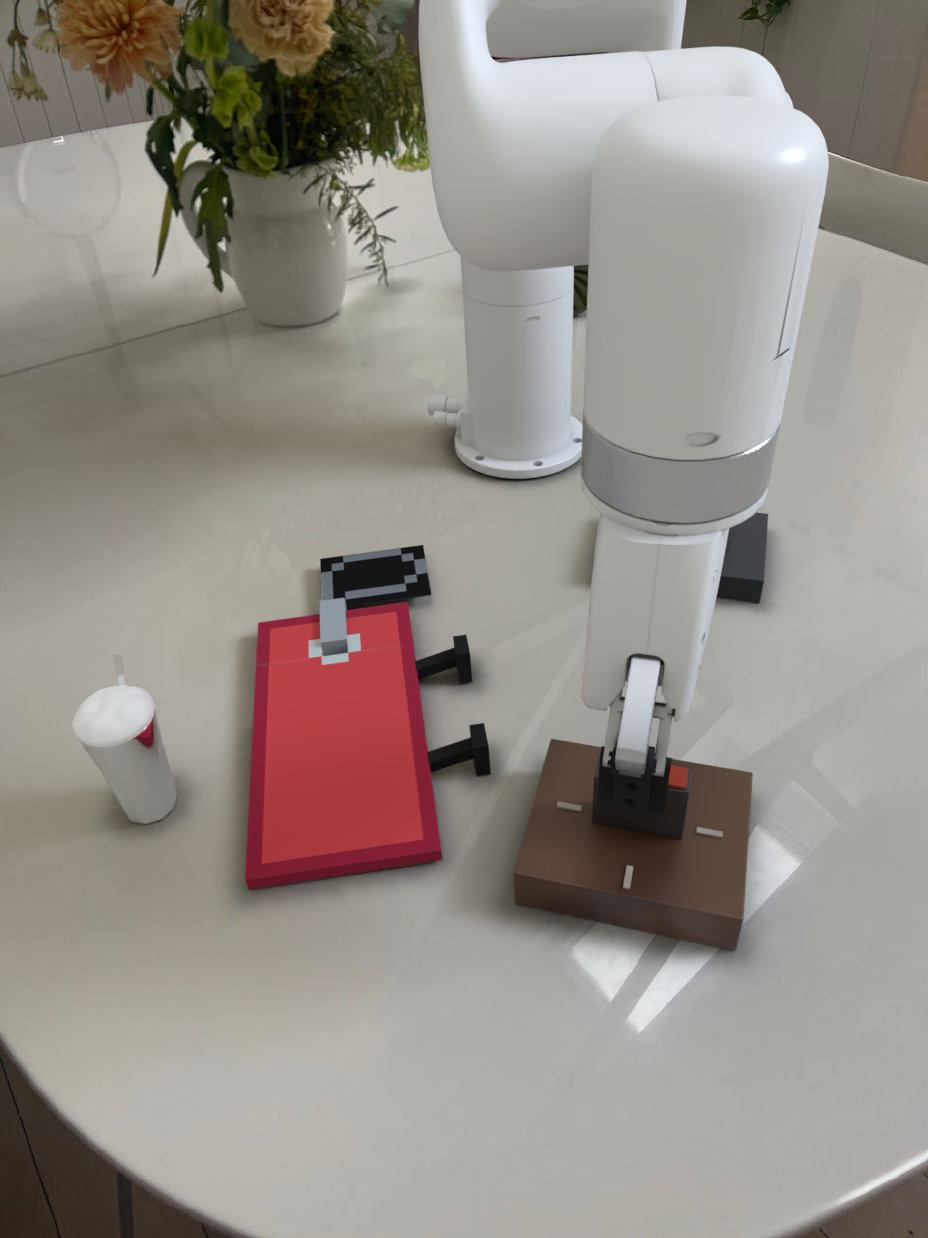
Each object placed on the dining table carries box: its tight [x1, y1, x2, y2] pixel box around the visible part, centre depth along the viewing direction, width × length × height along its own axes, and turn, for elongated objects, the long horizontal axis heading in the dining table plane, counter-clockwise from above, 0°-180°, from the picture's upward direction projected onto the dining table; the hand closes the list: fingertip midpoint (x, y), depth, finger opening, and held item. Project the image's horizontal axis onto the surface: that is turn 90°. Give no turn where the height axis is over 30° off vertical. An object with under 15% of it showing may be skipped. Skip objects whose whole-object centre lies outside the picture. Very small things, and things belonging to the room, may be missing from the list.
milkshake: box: [71, 653, 178, 825], centre depth 57 cm, size 4×5×10 cm
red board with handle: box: [244, 544, 492, 890], centre depth 65 cm, size 30×3×15 cm
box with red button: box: [592, 755, 692, 839], centre depth 51 cm, size 5×2×4 cm, turn 75°
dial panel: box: [513, 738, 754, 952], centre depth 54 cm, size 12×10×3 cm
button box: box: [716, 512, 769, 604], centre depth 75 cm, size 12×9×4 cm
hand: (643, 734), depth 49 cm, fingers open, 9 cm apart
